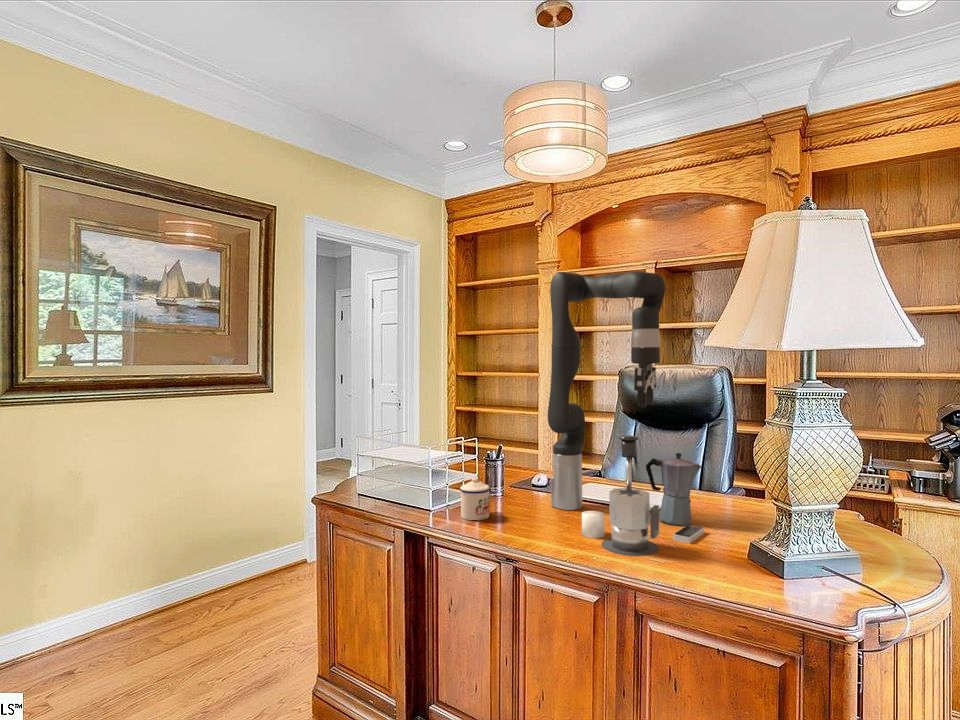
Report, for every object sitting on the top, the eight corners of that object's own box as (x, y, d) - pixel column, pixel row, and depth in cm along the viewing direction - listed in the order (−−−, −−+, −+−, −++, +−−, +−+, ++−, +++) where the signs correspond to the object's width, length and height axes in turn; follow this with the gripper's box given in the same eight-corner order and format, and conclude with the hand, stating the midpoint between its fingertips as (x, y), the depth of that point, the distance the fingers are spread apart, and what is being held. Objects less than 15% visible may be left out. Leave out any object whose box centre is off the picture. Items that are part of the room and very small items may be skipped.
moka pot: (705, 528, 151) (704, 456, 151) (648, 525, 154) (647, 455, 154) (698, 518, 160) (698, 450, 160) (644, 515, 163) (644, 449, 163)
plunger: (617, 493, 135) (616, 437, 135) (622, 489, 139) (622, 435, 139) (635, 495, 133) (635, 438, 133) (640, 491, 136) (640, 436, 136)
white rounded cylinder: (578, 537, 144) (578, 515, 144) (586, 531, 149) (586, 509, 149) (600, 541, 141) (600, 518, 141) (607, 534, 146) (607, 512, 146)
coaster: (593, 551, 133) (593, 549, 133) (611, 535, 145) (611, 533, 145) (651, 561, 126) (651, 559, 126) (664, 543, 138) (664, 542, 138)
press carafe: (606, 548, 134) (606, 493, 134) (617, 537, 142) (617, 486, 142) (652, 556, 128) (651, 499, 128) (661, 545, 136) (660, 491, 136)
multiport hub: (672, 543, 140) (672, 534, 140) (688, 532, 148) (688, 524, 148) (689, 546, 137) (689, 537, 137) (704, 535, 145) (704, 527, 145)
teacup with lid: (478, 523, 157) (478, 483, 157) (454, 518, 163) (453, 479, 163) (501, 513, 167) (500, 475, 167) (477, 508, 172) (476, 472, 172)
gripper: (638, 346, 154) (638, 403, 154) (624, 345, 142) (624, 407, 142) (665, 346, 150) (665, 404, 151) (653, 345, 138) (653, 408, 138)
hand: (645, 405), depth 146 cm, fingers open, 8 cm apart
